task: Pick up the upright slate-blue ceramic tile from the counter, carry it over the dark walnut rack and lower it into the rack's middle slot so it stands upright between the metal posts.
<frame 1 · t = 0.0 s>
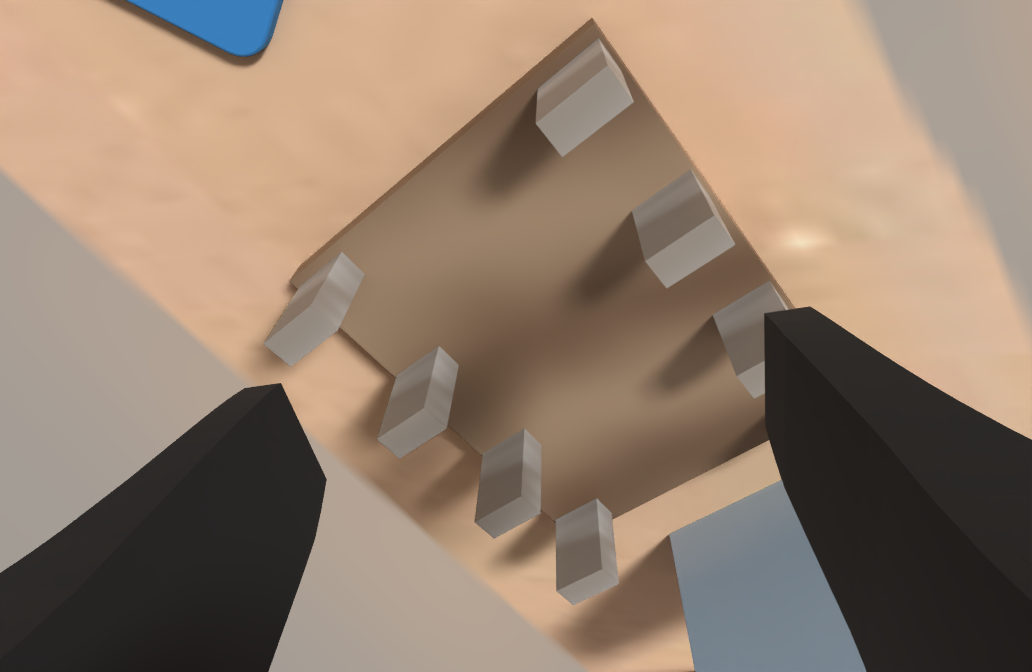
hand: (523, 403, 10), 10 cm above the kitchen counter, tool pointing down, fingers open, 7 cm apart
slate-blue tile: (755, 519, 26), on the kitchen counter
walnut rack: (580, 323, 21), on the kitchen counter
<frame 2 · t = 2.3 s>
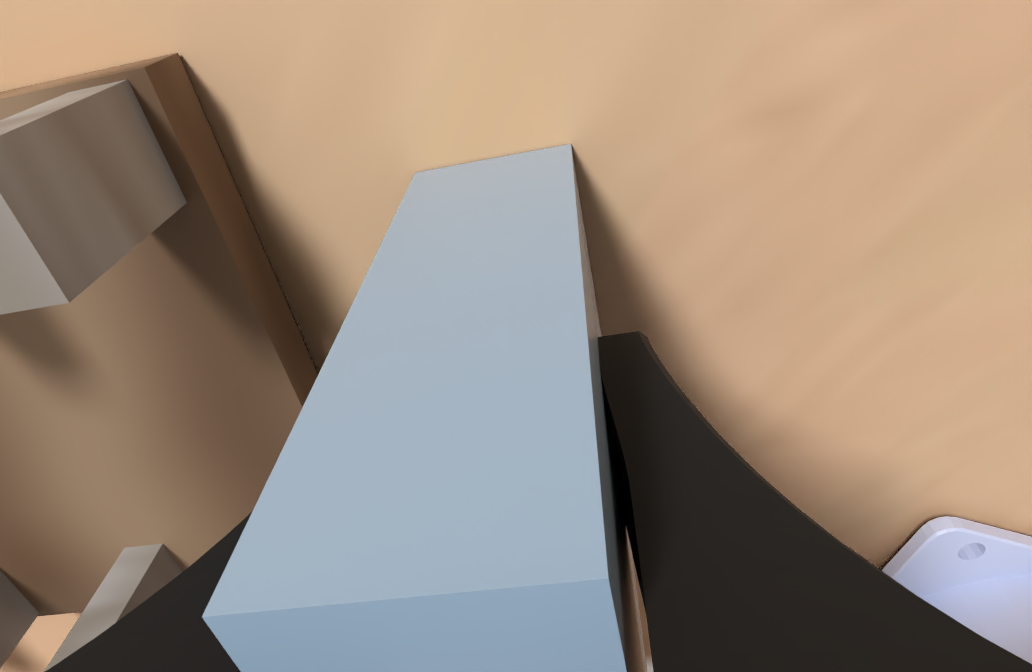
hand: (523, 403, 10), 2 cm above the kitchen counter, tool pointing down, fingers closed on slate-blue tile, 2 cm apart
slate-blue tile: (527, 319, 12), on the kitchen counter, touching gripper
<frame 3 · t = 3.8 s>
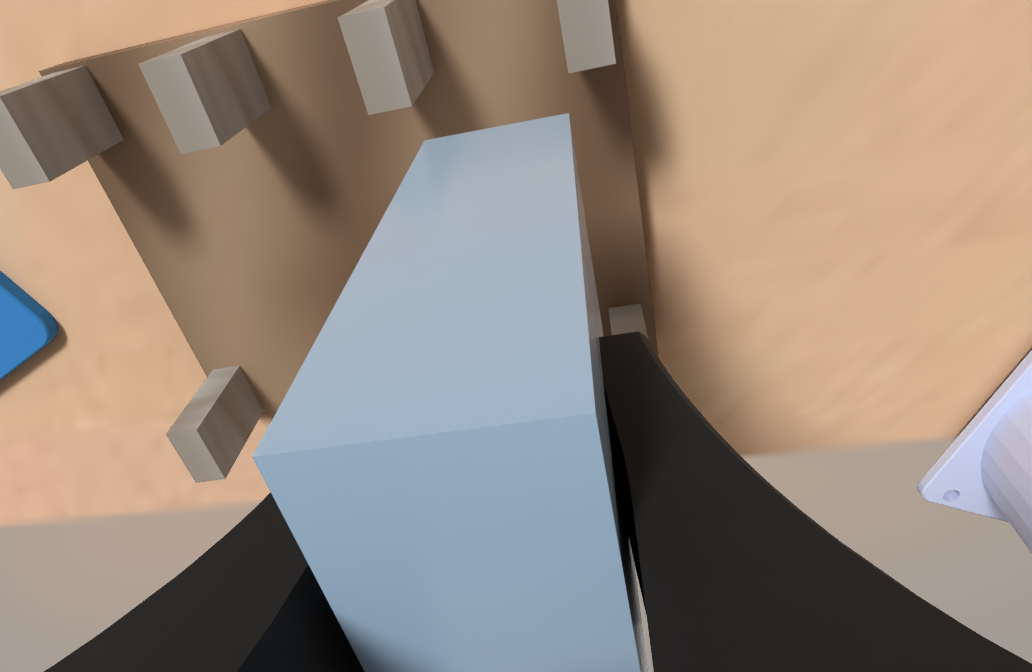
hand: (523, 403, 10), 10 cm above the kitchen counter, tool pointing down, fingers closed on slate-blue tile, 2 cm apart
slate-blue tile: (528, 282, 13), point 6 cm above the kitchen counter, touching gripper
walnut rack: (386, 213, 19), on the kitchen counter
when the fingers open (4 cm above the kitchen counter, at t = 5.5 s): slate-blue tile stays where it is, resting on walnut rack.
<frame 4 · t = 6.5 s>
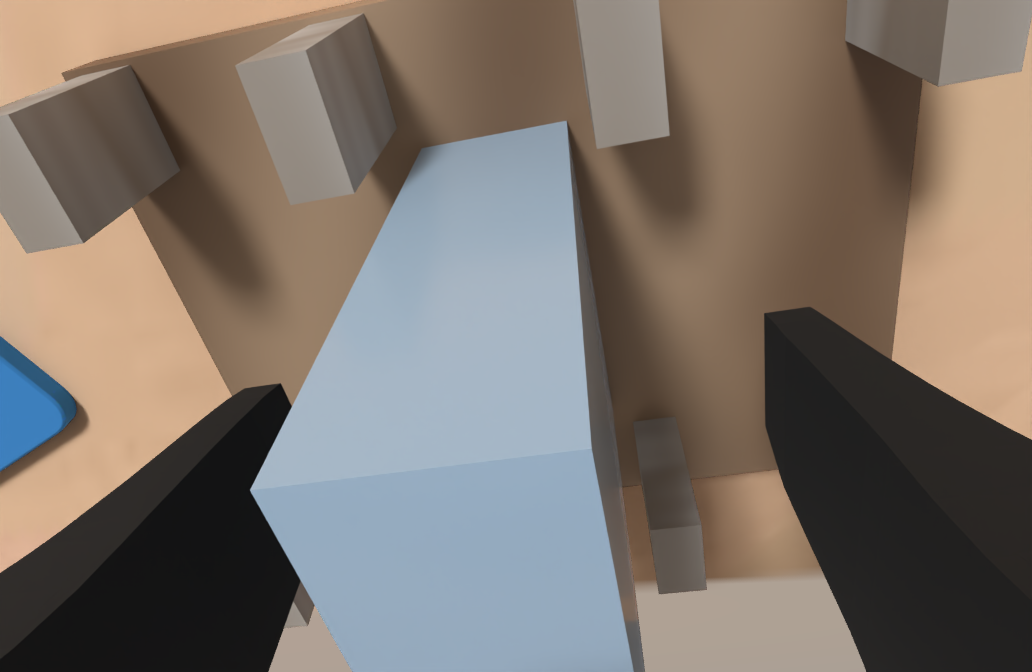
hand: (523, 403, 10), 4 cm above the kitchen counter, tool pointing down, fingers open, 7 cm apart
slate-blue tile: (526, 288, 13), point 1 cm above the kitchen counter, touching walnut rack
walnut rack: (530, 268, 14), on the kitchen counter
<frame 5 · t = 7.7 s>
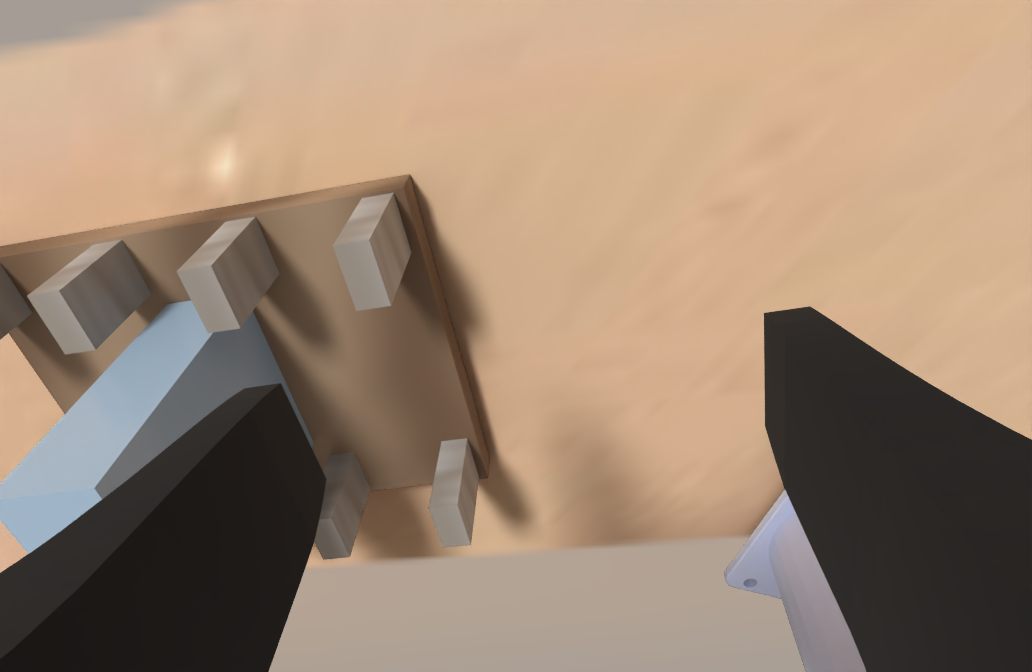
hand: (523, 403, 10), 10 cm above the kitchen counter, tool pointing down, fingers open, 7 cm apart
slate-blue tile: (245, 378, 22), point 1 cm above the kitchen counter, touching walnut rack
walnut rack: (258, 362, 23), on the kitchen counter
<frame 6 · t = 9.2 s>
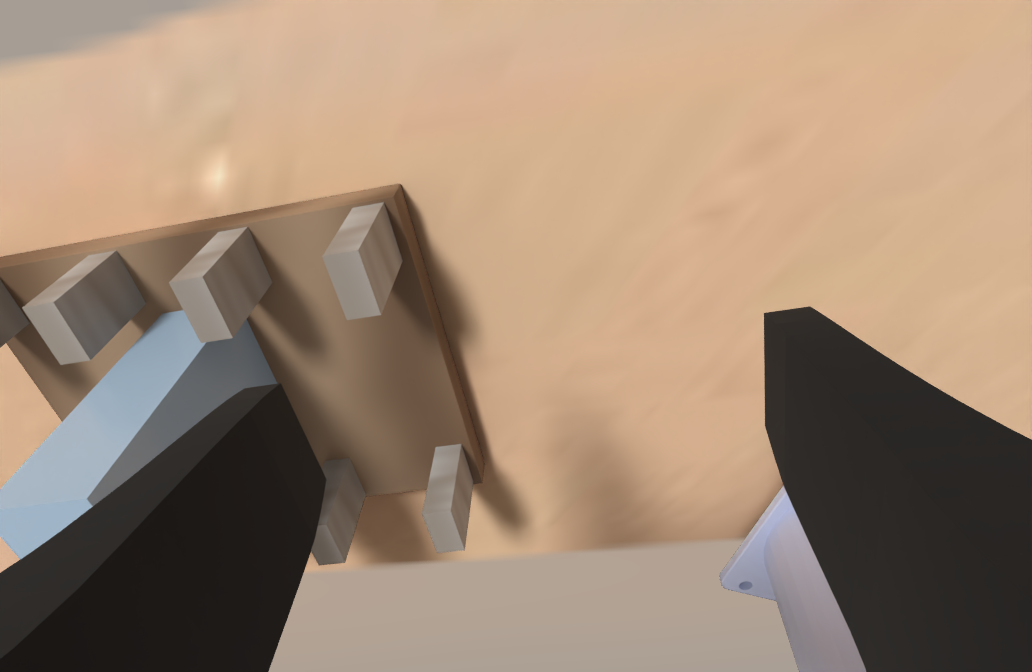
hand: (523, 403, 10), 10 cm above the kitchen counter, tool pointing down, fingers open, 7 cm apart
slate-blue tile: (240, 385, 22), point 1 cm above the kitchen counter, touching walnut rack
walnut rack: (253, 370, 23), on the kitchen counter
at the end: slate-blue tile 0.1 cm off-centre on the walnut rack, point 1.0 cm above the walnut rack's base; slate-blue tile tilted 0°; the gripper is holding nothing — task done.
